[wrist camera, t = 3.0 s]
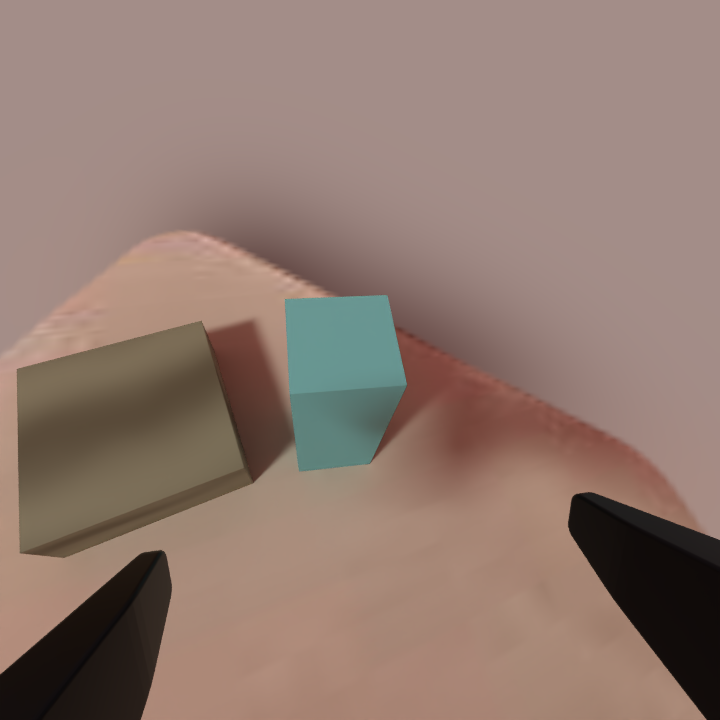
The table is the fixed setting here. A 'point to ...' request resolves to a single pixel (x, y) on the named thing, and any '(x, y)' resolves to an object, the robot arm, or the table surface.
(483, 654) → the table surface
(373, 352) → the pillar brick
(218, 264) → the table surface
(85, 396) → the base brick
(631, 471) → the table surface
